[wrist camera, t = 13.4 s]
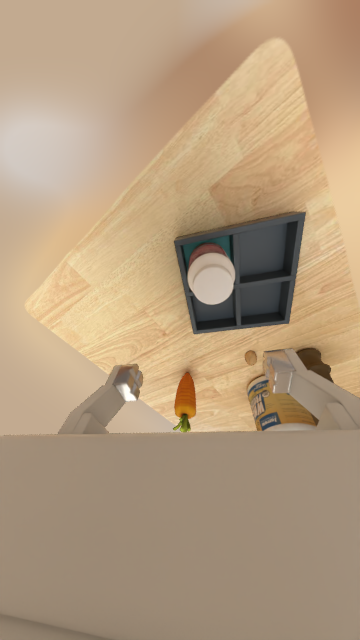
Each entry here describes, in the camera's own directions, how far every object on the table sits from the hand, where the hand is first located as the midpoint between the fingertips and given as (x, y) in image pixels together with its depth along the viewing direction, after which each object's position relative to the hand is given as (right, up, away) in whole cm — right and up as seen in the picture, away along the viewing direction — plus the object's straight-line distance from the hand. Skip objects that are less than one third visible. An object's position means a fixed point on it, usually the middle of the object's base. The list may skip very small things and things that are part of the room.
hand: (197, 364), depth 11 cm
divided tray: (+9, +10, +20) cm, 24 cm away
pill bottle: (+4, +13, +18) cm, 22 cm away
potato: (+16, -6, +30) cm, 34 cm away
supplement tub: (+23, -15, +35) cm, 45 cm away
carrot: (+1, -11, +35) cm, 37 cm away
